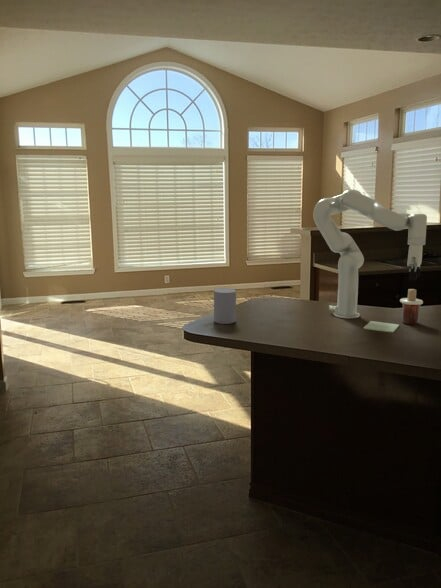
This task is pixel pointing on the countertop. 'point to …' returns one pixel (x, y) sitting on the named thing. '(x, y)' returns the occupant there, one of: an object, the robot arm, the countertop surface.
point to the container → (224, 306)
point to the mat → (381, 326)
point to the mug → (410, 314)
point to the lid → (411, 298)
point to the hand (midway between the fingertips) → (414, 278)
